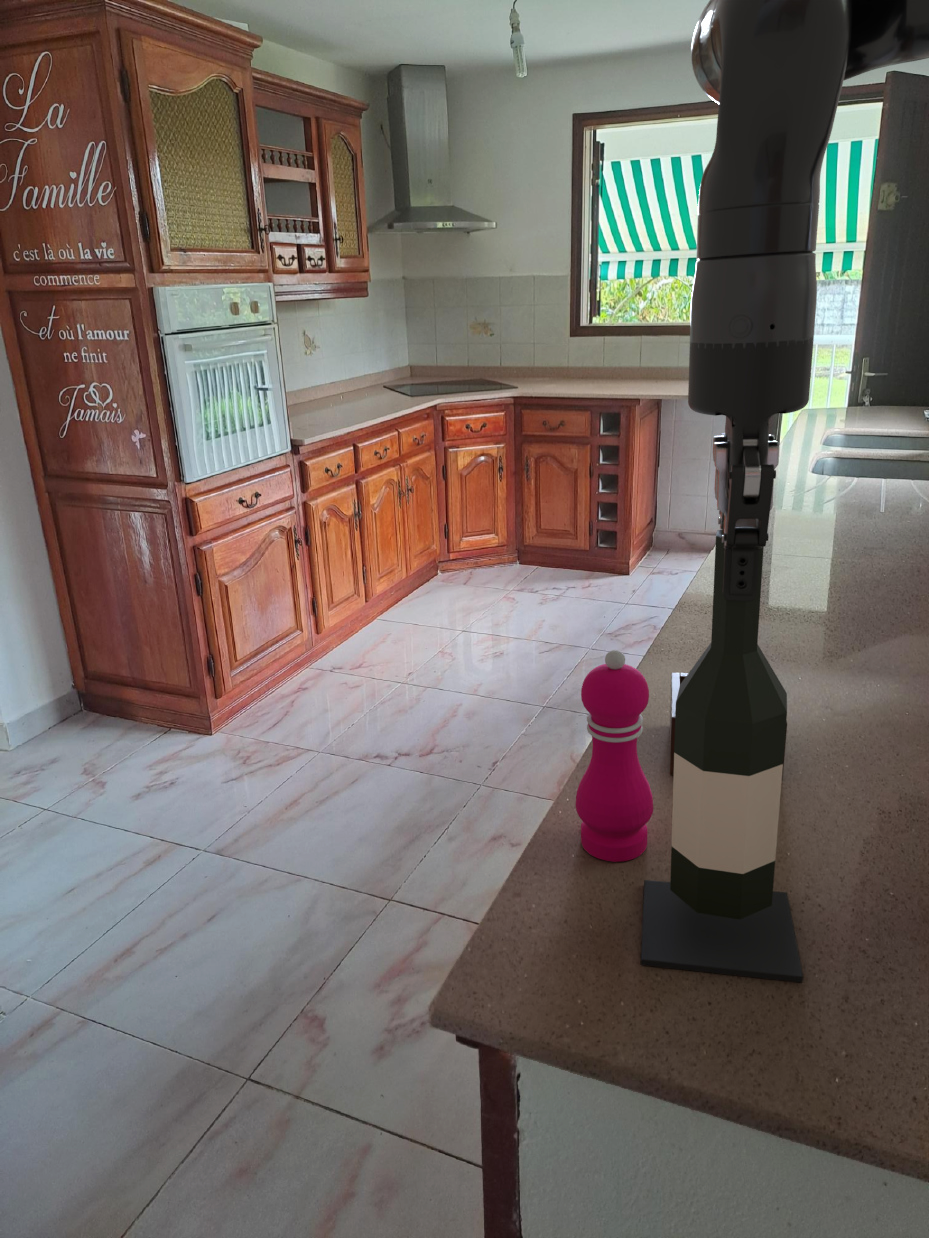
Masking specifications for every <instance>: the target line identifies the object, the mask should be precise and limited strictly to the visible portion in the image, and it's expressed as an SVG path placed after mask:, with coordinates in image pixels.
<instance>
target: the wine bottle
mask: <svg viewBox="0 0 929 1238" xmlns="http://www.w3.org/2000/svg"><path fill="white" fill-rule="evenodd" d="M735 528H755V519H738V520H737V521H736V526H735ZM722 535H723V536H724V521H723V529H718V530H716V533H715V547H714V548H715V551H714V553H715V554H714V568H713V569H714V570H713V571H714V572H713V593H712V594H713V595H712V618H711V619H712V620H711V640H710V643H709V644H708V646H707V647H706V649H705V650H704V651H703V653H702V654H701V655H700V657H699V658H698V659H697V661H696V662H695V663H694V664H693V667H691V669H690V671H688V672H687V673H688V675H687V676H686V677H685V679H684V680H683V681H682V683H681V684H680V687H679V691H678V695H677V700H676V712H675V746H674V775H673V779H672V780H673V782H672V816H671V817H672V818H671V848H670V849H671V853H670V881H669V882H670V890H671V891H672V892H673V893H675V894H676V895H677V896H678V897H679V898H680V899H681V900H683V901H684V902H685V903H686V904H687V905H688V906H690V907H691V908H692V909H693V910H694V911H695V912H697V913H702V914H708V915H714V916H721V917H727V918H733V919H739V920H740V919H743V918H745V917H747V916H749V915H752V914H754V913H756V912H758V911H761V910H763V909H765V908H767V907H770V906H772V896H773V891H774V883H775V869H776V856H777V844H778V831H779V820H780V819H779V818H780V806H781V795H782V794H781V793H782V782H783V781H782V770H783V757H784V745H785V732H786V720H787V719H788V695H787V694H788V693H787V691H786V689H785V688H784V686H783V685H782V683H781V680H780V679H779V677H778V676H777V674H776V673H775V670H774V669H773V667H772V665H771V664H770V663H769V661H768V659H767V658H766V656H765V654H764V652H763V650H762V649H761V647H760V645H759V643H758V642H759V626H760V611H761V610H760V609H761V596H762V595H761V594H762V593H761V592H762V579H763V563H764V547H765V546H763V547H762V548H760V555H759V572H758V588H757V597H756V598H755V599H754V600H753V601H727V600H726V599H725V598H724V596H723V573H724V552H725V548H724V543H722ZM783 771H784V770H783Z"/></svg>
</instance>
